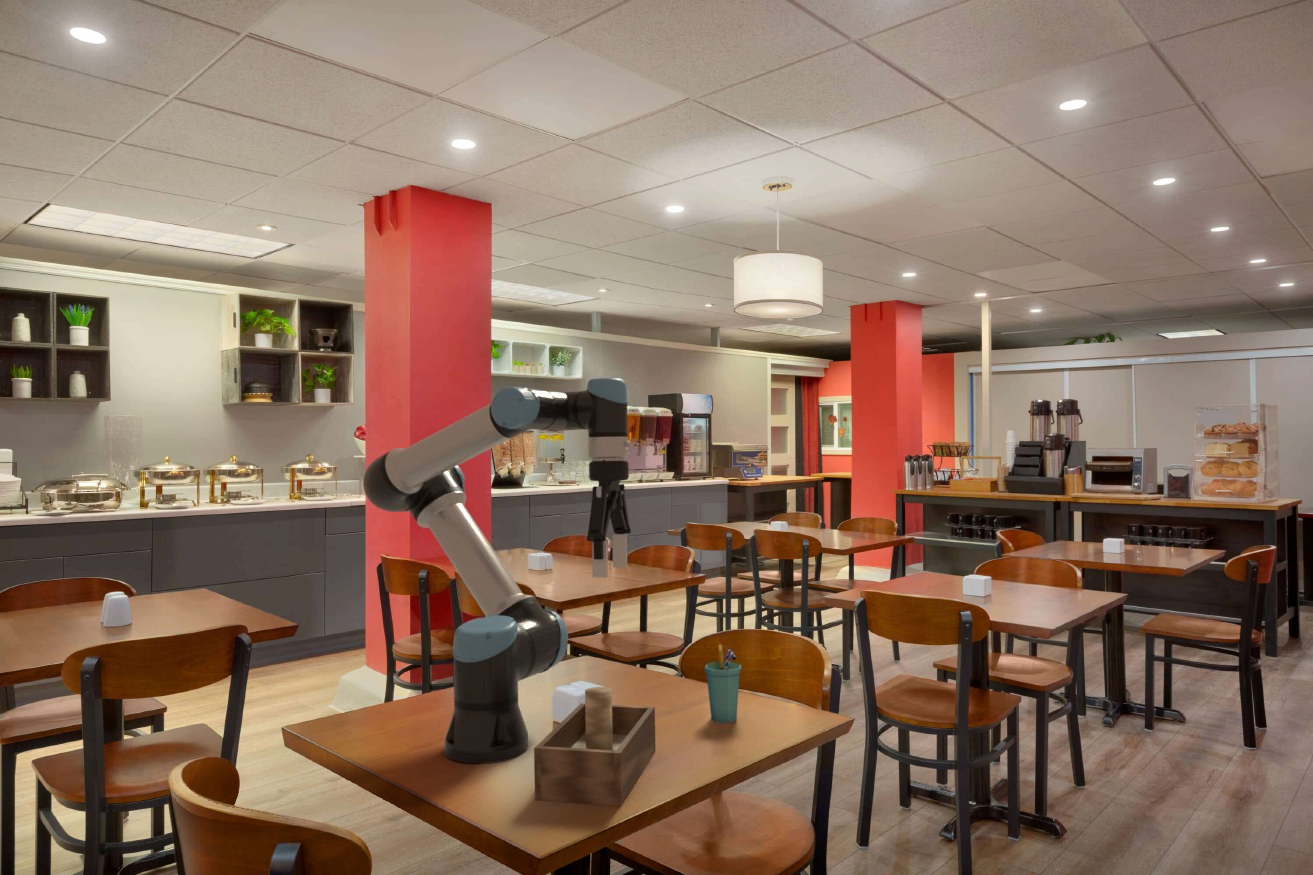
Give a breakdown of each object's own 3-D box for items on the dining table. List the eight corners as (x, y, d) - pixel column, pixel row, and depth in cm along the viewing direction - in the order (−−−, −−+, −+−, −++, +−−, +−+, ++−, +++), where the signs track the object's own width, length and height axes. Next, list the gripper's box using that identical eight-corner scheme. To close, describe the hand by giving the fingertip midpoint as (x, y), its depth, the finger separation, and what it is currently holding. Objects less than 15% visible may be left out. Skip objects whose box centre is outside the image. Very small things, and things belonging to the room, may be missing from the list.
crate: (534, 799, 129) (534, 747, 130) (581, 746, 153) (581, 703, 153) (621, 805, 126) (620, 753, 127) (655, 751, 150) (654, 706, 150)
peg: (582, 777, 138) (581, 693, 138) (590, 768, 142) (589, 686, 143) (608, 779, 137) (607, 694, 137) (616, 769, 141) (614, 687, 142)
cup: (754, 728, 161) (753, 651, 162) (716, 732, 160) (714, 654, 160) (733, 708, 175) (731, 636, 175) (697, 711, 173) (696, 639, 174)
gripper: (609, 459, 144) (611, 582, 143) (643, 459, 168) (645, 563, 168) (568, 460, 146) (570, 581, 145) (607, 459, 170) (609, 563, 169)
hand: (610, 572), depth 156 cm, fingers open, 13 cm apart
